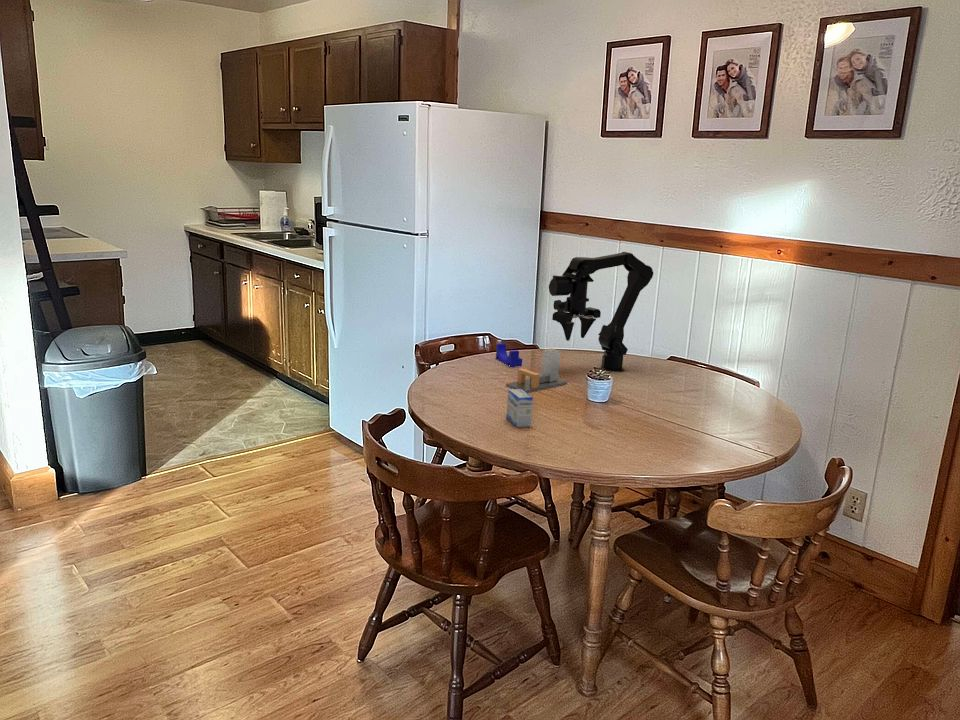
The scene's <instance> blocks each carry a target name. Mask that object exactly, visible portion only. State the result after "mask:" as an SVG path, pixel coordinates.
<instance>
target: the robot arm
mask: <svg viewBox="0 0 960 720" xmlns="http://www.w3.org/2000/svg"><path fill="white" fill-rule="evenodd" d="M620 266H623V268H624V269H625V270H626V271H627V272H628V274H627V280H626V281H627V282H626V283H627V286H626V289H625V290H624V292H623V294H622V297H621V299H620V301H619V303H618V306H617V308H616V311H615V313H614V315H613V317H612V319H611V322H609V323H608V324H606V325H605V324H603V325H602V326H601V330H600V332H599V333H598V343H599V345H600V346H601V350H602V351H603V355H602V356H601V366H600V367H602V369H603V370H605V371H606V370H607V372H608V371H609V372H623V371H624V368H623V364H624V363H623V362H624V356H625V355H627V353H628V349H629V348H627V346H626V345H625V344H624V343H623V341H624V338H625V331H624V330H625V329H624V328H625V326H626V324H627V321H628V319H629V318H630V315H631V313H632V310H633V309H634V306H635V304H636V302H637V299H638V298H639V295H640V293H641V291H642V290H643V289H645V288H646V287H647V286H648V285H649V283H650V282H651V280H652V279H653V277H654V269H653V268H652V267H651V266H650V265H648V264H646V263H644V262H643V261H642V260H640V259H639V258H637V257H636V256H635V255H634V254H633V253H632V252H628V251H622V252H619V253H613V254H607V255H602V256H596V257H586V256H585V257H584V256H576V257H573V258H572V259H571V260H570V262H569V265H568V266H567V268H566V269H565V270H564V272H563V273H562V275H556V274H554V275H552V279H551V280H550V282H549V284H548V291H549V294H550V296H551V297H557V296H558V297H561V296H566V297H567V298H566V299H565V300H566V301H562V300H561V299H556V300H554V301H553V309H554V310H555V311H554V312H553V313H552V317H551V319H552V321H554V322H555V321H556V322H557V323H559V324H560V325H561V327H562V329H563V333H564V336H565V340H566V341H568V342H569V341H570V339H571V337H572V333H573V329H574V326H575V322H573V319H575V318H576V319H577V318H578V319H579V321H580V338H582V339H584V338H585V337H586V336H587V334H588V332H589V330H590V328H591V327H592V325H593V324H594V323H595V322H596V321H597V319H598V318H599V319H600V318H601V313H602V312H601V310H600V309H599V308H595V307H591V306H590V307H587V302H589V301H590V298H589V297H588V284H589V283H593V282H594V279H593V278H592V277H591V275H592V274H594V273H595V272H598V271H599V270H603V269H609V268H614V267H620Z"/></svg>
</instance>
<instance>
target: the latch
mask: <svg viewBox="0 0 960 720" xmlns="http://www.w3.org/2000/svg"><path fill="white" fill-rule="evenodd" d="M560 361H561V350H558V349H555V348H547V349H543V350H542V363H541V374H540V373H539V374H540V377H539V383H543V382H547V381H549V382H552V381H557V380H558V379H559V376H560V375H559V374H560V364H561V363H560ZM529 379H530V383H531V377H530V376H529Z"/></svg>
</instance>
